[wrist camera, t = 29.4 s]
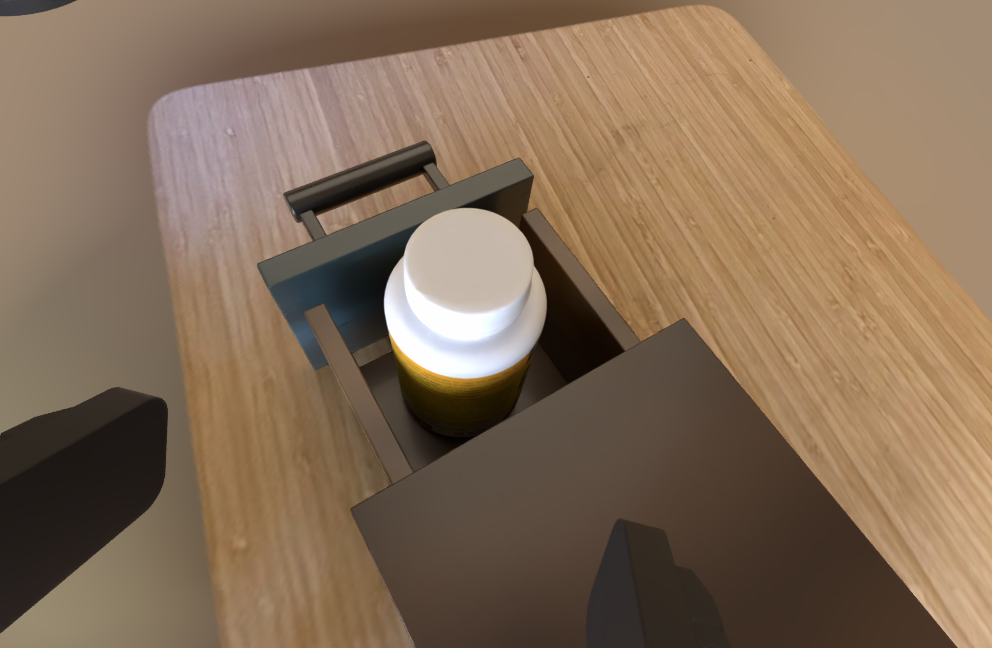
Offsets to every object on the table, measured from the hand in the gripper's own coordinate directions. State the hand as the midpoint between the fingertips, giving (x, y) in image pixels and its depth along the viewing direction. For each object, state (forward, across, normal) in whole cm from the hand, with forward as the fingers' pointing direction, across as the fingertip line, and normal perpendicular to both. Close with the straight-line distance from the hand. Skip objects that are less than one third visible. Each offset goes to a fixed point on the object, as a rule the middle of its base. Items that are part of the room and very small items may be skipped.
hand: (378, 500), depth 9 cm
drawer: (+17, +1, +4) cm, 17 cm away
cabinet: (+11, -8, +12) cm, 18 cm away
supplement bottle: (+15, 0, +4) cm, 16 cm away
